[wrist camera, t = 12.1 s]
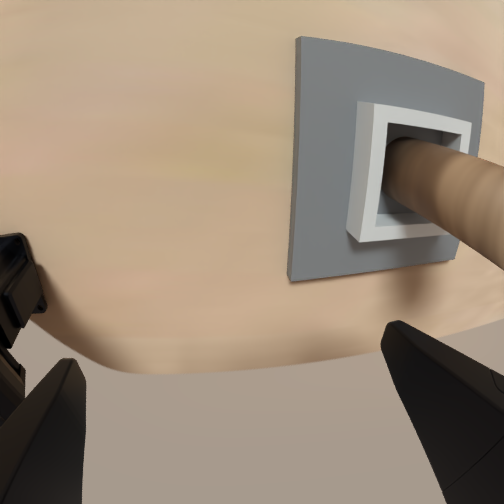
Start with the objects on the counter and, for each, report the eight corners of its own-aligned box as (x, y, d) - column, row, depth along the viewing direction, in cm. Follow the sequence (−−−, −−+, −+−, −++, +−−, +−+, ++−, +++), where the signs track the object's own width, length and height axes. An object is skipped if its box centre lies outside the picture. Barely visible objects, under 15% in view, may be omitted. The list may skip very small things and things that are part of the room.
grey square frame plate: (286, 273, 23) (299, 298, 21) (295, 38, 16) (314, 30, 13) (447, 254, 26) (467, 270, 23) (476, 81, 18) (502, 85, 16)
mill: (367, 187, 20) (524, 289, 9) (393, 125, 18) (569, 181, 7) (412, 209, 21) (550, 304, 10) (436, 153, 20) (587, 220, 8)
